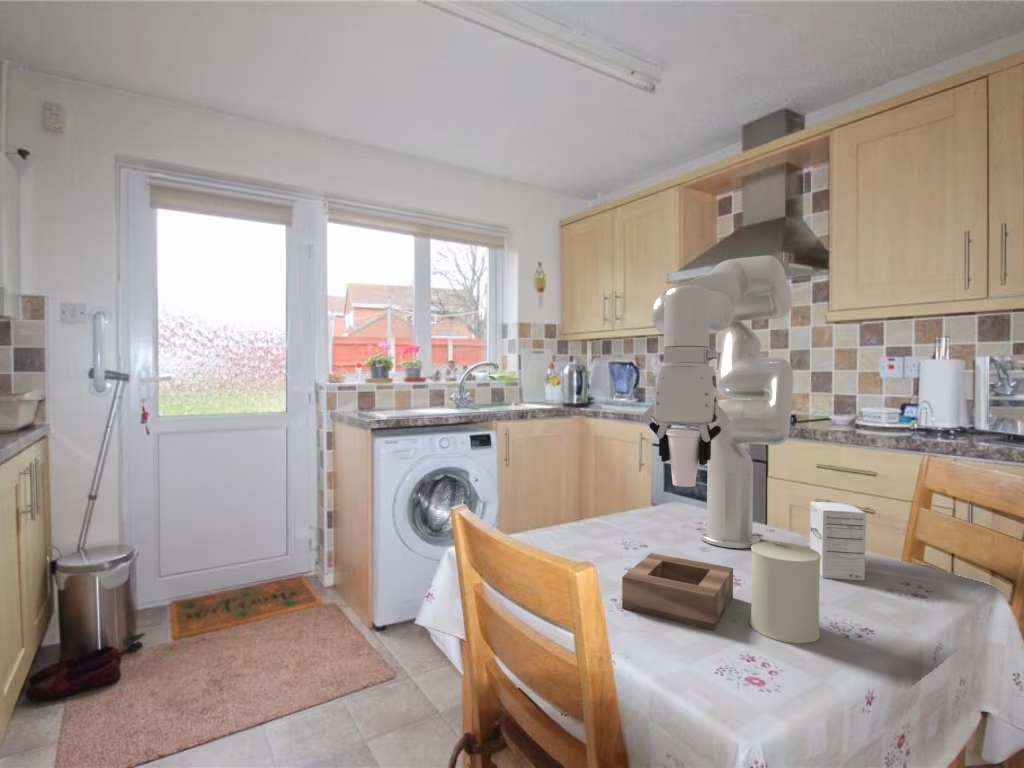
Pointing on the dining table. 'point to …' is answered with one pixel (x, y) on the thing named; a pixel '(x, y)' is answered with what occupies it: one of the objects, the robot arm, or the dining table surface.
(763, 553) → the can
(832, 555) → the supplement box
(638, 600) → the socket block
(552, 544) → the dining table surface
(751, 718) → the dining table surface
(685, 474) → the smoothie
